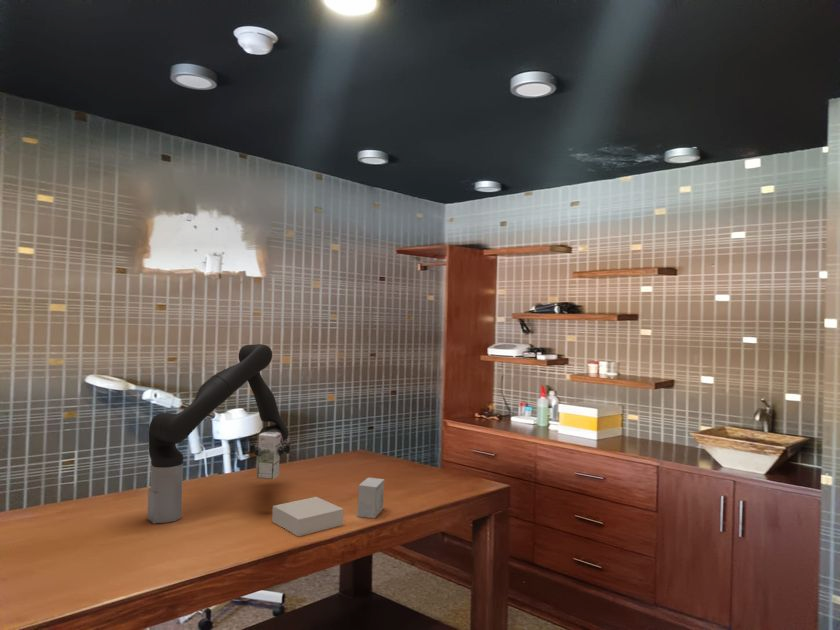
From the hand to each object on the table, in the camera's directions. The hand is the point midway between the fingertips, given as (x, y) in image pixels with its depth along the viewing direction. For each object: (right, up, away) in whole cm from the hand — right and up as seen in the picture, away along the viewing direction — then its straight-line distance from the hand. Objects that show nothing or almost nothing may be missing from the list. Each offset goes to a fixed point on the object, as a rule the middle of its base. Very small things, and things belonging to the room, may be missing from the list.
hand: (268, 452), depth 187 cm
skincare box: (+33, -22, +4) cm, 40 cm away
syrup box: (-1, -9, +2) cm, 9 cm away
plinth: (+14, -21, -7) cm, 26 cm away
